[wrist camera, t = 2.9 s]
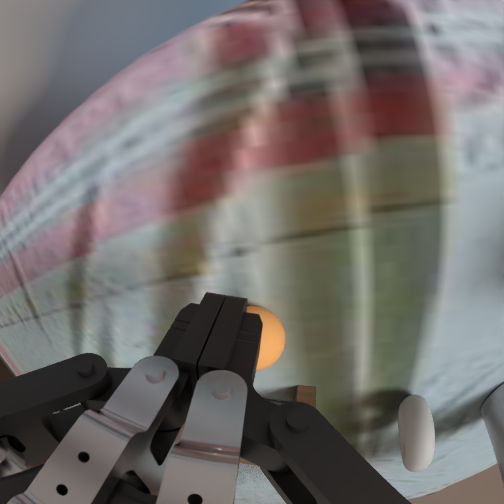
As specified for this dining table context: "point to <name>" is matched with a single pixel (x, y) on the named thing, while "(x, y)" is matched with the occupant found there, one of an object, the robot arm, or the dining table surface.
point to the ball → (269, 337)
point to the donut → (416, 433)
